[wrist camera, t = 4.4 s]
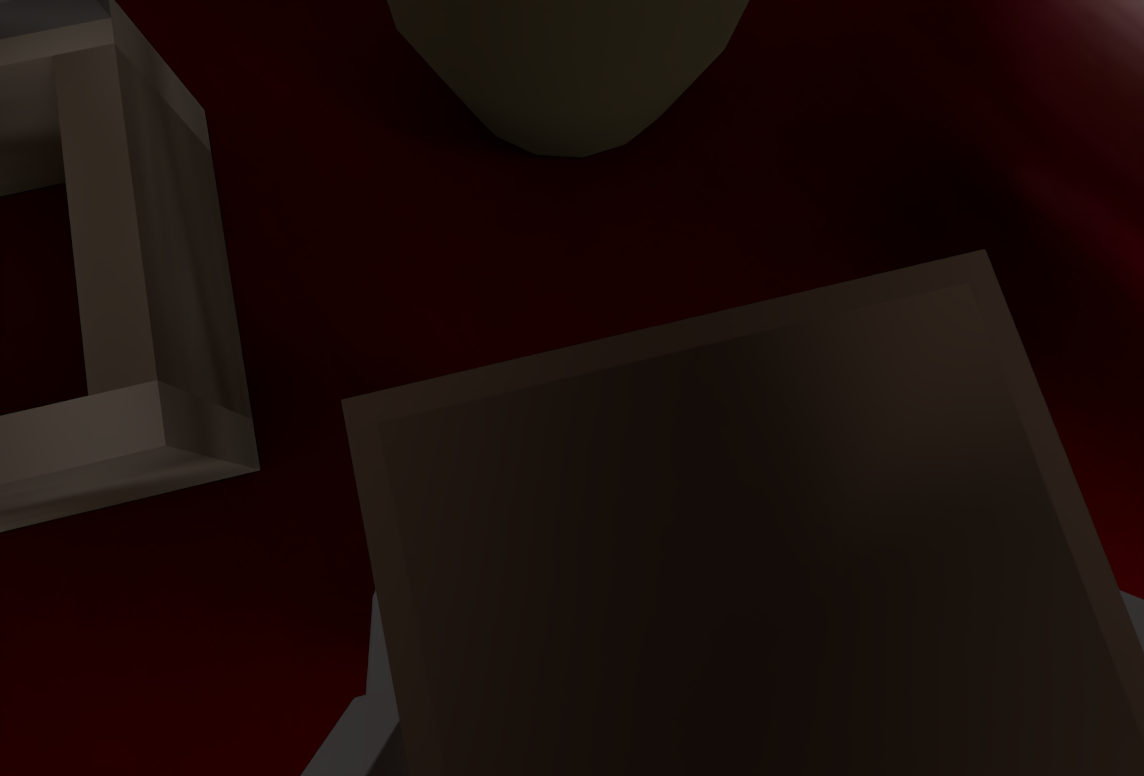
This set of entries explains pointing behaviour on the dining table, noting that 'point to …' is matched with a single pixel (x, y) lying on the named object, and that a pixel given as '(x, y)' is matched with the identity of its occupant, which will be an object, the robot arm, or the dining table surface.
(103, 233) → the frame
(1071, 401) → the dining table surface
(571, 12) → the squeeze bottle
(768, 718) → the brown capped wooden post
